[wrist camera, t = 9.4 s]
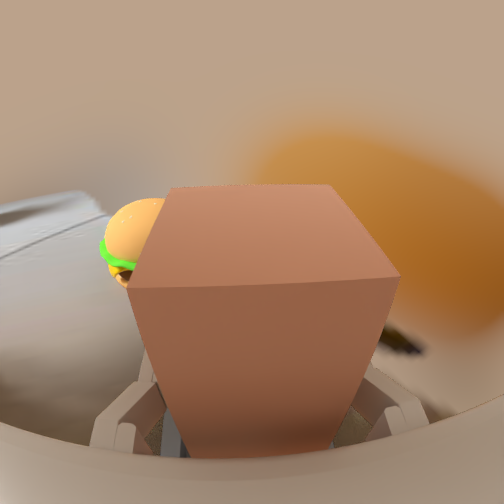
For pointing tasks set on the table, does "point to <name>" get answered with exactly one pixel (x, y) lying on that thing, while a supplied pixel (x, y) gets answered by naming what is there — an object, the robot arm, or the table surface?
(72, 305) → the table surface
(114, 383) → the table surface
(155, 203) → the hamburger
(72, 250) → the table surface
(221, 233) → the post
